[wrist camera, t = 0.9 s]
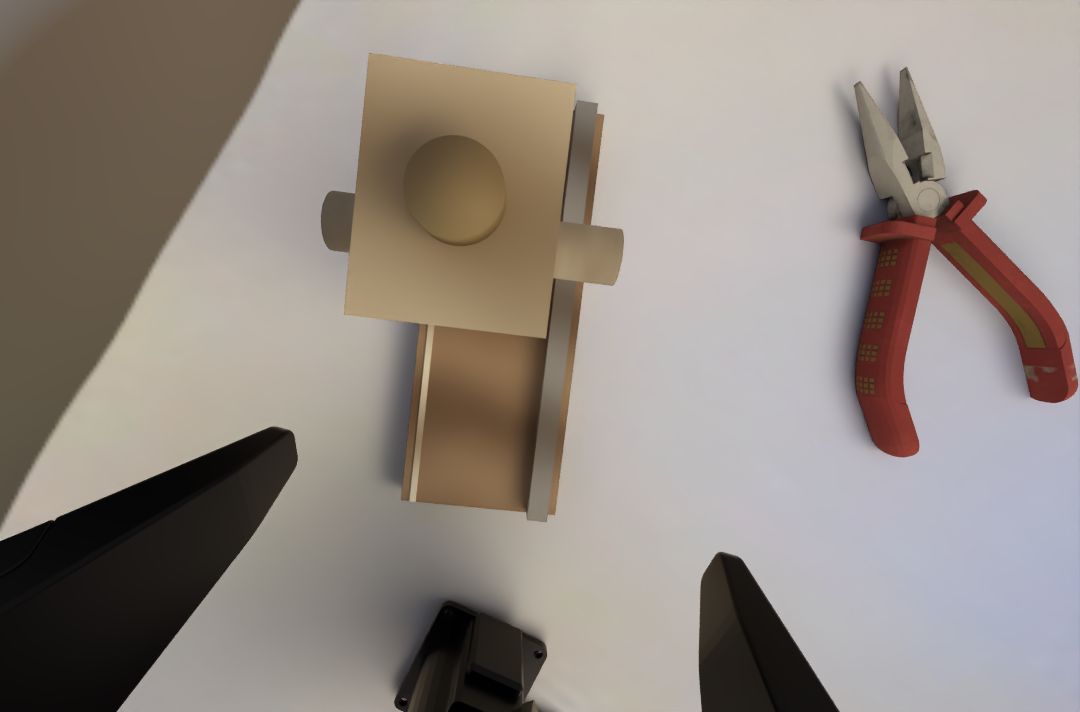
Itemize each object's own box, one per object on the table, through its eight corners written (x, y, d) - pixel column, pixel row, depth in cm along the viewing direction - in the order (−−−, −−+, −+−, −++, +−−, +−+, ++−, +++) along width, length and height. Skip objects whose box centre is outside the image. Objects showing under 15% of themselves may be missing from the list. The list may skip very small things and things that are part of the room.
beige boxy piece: (567, 337, 23) (655, 352, 8) (408, 319, 23) (211, 299, 8) (579, 239, 23) (691, 77, 8) (419, 218, 23) (235, 6, 8)
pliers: (957, 56, 26) (1006, 25, 23) (1043, 392, 27) (1099, 398, 25) (767, 119, 25) (795, 95, 23) (864, 455, 27) (901, 469, 24)
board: (552, 504, 25) (556, 523, 23) (408, 489, 25) (395, 507, 22) (598, 128, 24) (608, 104, 22) (448, 105, 24) (440, 80, 21)
